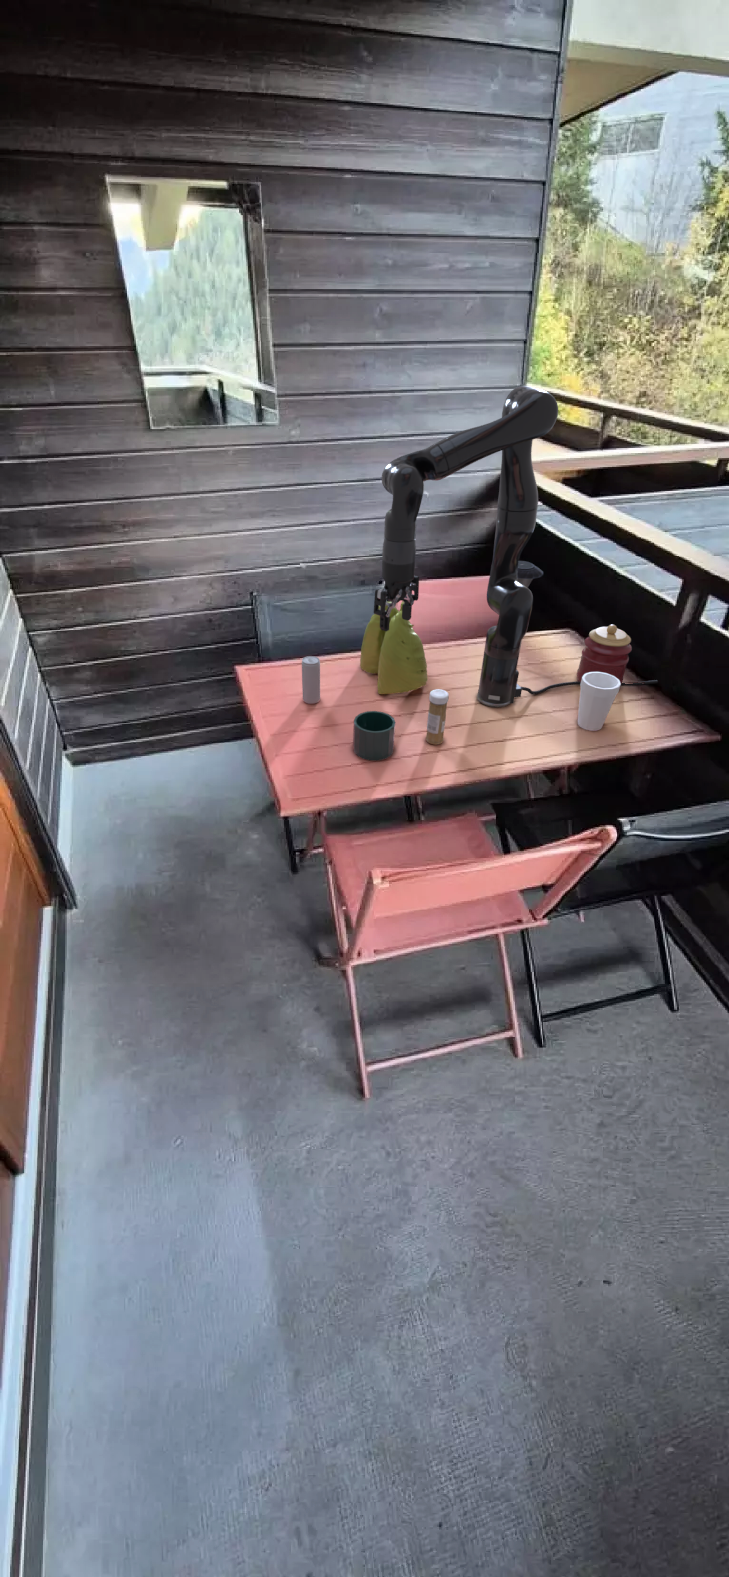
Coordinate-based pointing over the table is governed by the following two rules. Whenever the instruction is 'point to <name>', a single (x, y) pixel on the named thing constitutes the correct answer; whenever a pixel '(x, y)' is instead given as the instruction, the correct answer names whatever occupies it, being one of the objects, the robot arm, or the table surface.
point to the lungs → (394, 654)
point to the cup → (373, 735)
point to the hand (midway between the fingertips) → (395, 624)
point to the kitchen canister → (605, 652)
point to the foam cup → (596, 699)
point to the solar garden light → (527, 573)
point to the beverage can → (311, 679)
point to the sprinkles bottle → (436, 716)
